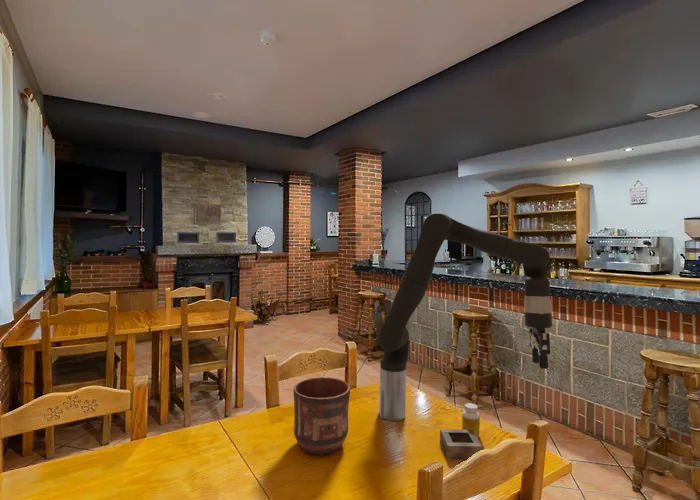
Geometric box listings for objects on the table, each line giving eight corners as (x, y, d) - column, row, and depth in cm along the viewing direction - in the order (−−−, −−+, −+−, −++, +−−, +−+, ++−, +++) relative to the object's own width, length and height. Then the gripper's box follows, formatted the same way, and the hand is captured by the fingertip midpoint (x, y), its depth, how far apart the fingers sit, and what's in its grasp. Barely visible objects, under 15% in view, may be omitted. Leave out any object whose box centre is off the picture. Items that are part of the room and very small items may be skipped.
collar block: (447, 459, 112) (447, 445, 112) (439, 441, 122) (440, 429, 122) (482, 460, 112) (482, 446, 112) (471, 442, 122) (472, 429, 122)
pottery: (362, 444, 120) (362, 386, 120) (319, 468, 107) (320, 403, 107) (322, 426, 132) (323, 373, 132) (280, 445, 119) (280, 386, 119)
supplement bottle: (480, 440, 124) (480, 410, 123) (462, 438, 125) (463, 408, 125) (478, 432, 129) (478, 403, 129) (461, 430, 130) (461, 401, 130)
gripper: (520, 309, 127) (521, 360, 126) (529, 312, 113) (532, 369, 112) (545, 310, 125) (547, 361, 124) (558, 313, 112) (560, 371, 110)
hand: (539, 365), depth 118 cm, fingers open, 8 cm apart
